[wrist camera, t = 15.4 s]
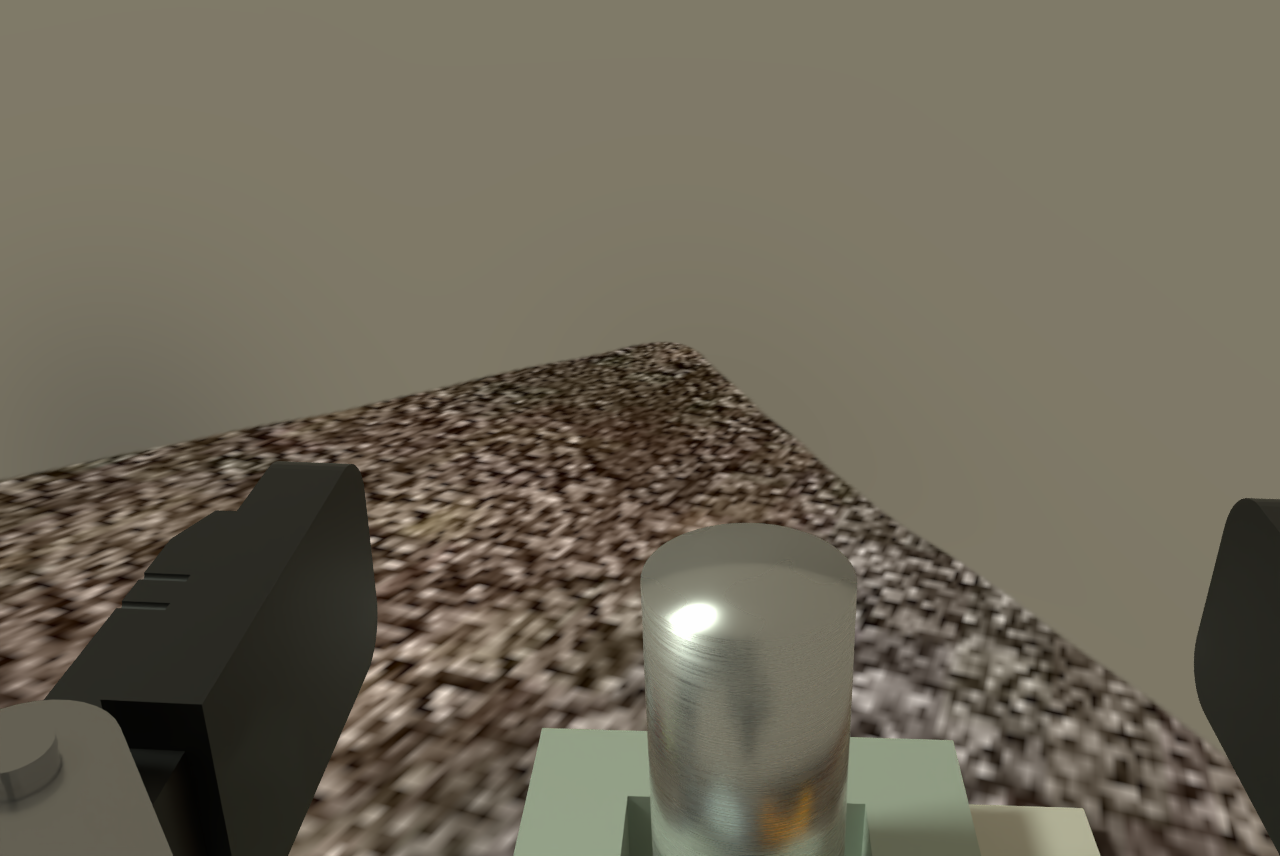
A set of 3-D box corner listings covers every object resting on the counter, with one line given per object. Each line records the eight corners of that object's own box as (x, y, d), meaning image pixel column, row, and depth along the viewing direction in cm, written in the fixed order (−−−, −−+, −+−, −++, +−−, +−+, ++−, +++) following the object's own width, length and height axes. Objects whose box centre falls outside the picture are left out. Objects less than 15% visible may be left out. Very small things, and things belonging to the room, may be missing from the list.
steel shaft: (650, 1047, 32) (630, 638, 26) (664, 898, 36) (649, 521, 31) (843, 1058, 31) (865, 643, 26) (833, 906, 36) (850, 524, 30)
